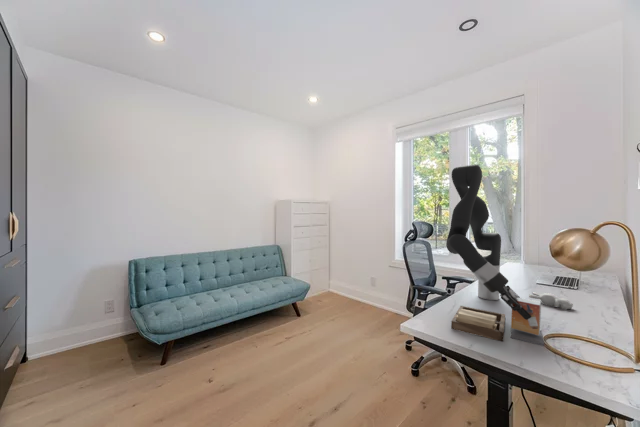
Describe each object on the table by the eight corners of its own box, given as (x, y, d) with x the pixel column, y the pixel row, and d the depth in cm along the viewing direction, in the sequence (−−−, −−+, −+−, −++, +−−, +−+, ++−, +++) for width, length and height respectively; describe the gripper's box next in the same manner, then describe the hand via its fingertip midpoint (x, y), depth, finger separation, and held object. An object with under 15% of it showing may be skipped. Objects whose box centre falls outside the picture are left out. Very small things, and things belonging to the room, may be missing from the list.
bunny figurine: (570, 303, 116) (528, 291, 128) (568, 314, 117) (527, 301, 128) (574, 299, 122) (534, 287, 134) (572, 309, 123) (532, 297, 134)
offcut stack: (459, 323, 105) (459, 308, 105) (496, 332, 97) (497, 316, 97) (456, 328, 101) (456, 312, 101) (495, 338, 93) (495, 321, 93)
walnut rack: (460, 312, 116) (460, 305, 116) (505, 321, 106) (505, 314, 106) (451, 328, 100) (451, 320, 100) (502, 341, 90) (503, 332, 90)
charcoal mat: (511, 325, 103) (511, 324, 103) (541, 332, 97) (541, 330, 97) (510, 337, 93) (510, 335, 93) (543, 345, 88) (543, 343, 88)
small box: (510, 328, 96) (511, 299, 96) (513, 323, 100) (513, 295, 100) (539, 335, 90) (540, 305, 90) (540, 330, 94) (541, 301, 94)
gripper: (497, 274, 94) (539, 316, 87) (499, 267, 106) (537, 303, 99) (479, 286, 97) (519, 327, 91) (483, 278, 109) (519, 314, 102)
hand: (528, 315), depth 95 cm, fingers closed on small box, 6 cm apart
